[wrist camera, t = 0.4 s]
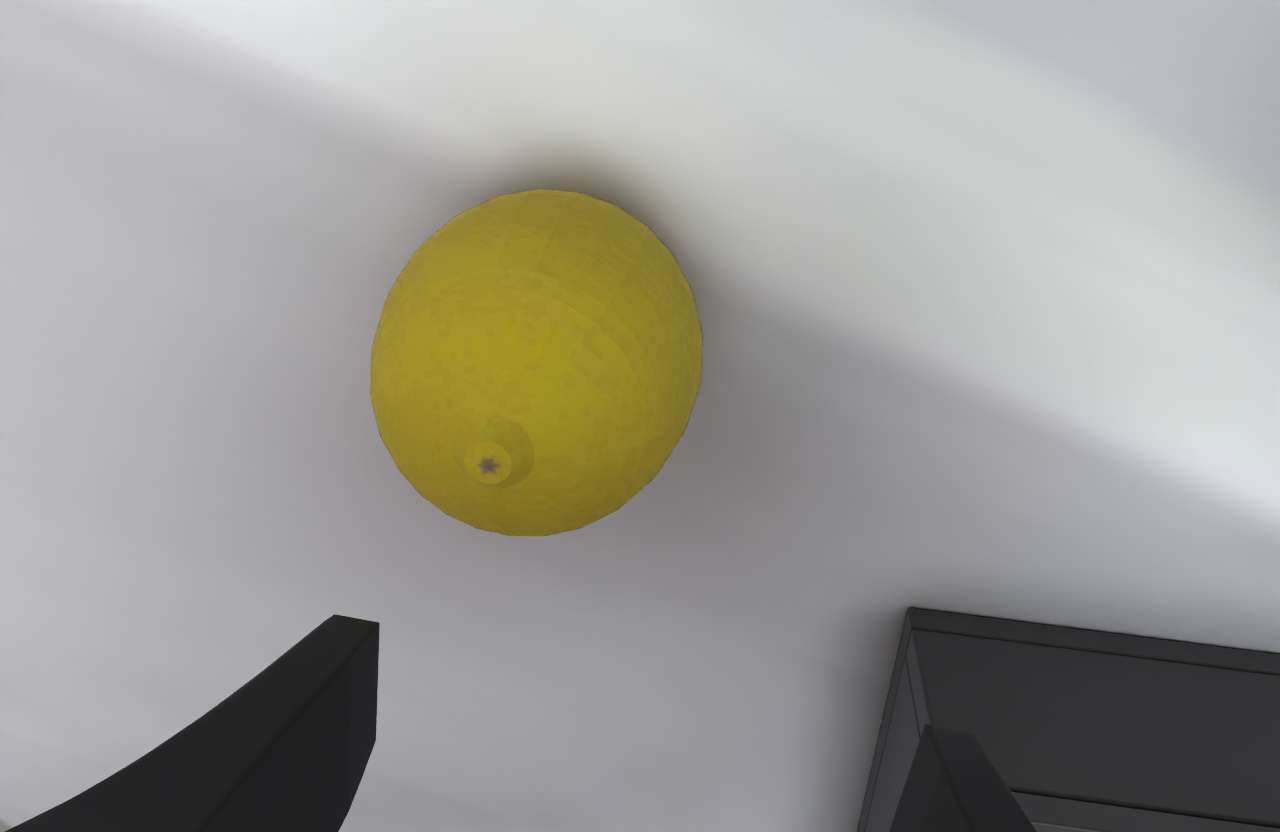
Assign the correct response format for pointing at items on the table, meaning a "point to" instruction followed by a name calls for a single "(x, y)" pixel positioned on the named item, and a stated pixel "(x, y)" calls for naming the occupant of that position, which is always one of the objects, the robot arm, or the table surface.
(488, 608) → the table surface
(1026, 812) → the dark grey box lid
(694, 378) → the lemon
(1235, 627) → the table surface
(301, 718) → the robot arm
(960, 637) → the dark grey square box
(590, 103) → the table surface
